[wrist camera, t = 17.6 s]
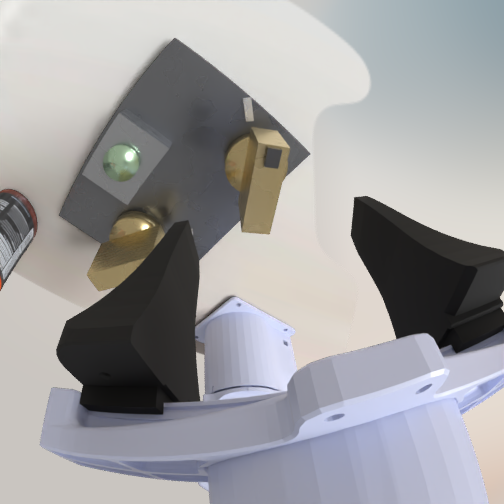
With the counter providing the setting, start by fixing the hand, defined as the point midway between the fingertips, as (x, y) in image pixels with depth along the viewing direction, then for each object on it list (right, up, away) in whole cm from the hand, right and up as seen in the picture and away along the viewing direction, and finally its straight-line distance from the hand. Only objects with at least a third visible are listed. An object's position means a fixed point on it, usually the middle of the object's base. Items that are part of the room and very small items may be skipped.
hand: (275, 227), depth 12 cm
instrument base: (-7, +4, +8) cm, 11 cm away
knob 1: (-10, 0, +9) cm, 13 cm away
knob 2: (-1, +5, +6) cm, 8 cm away
